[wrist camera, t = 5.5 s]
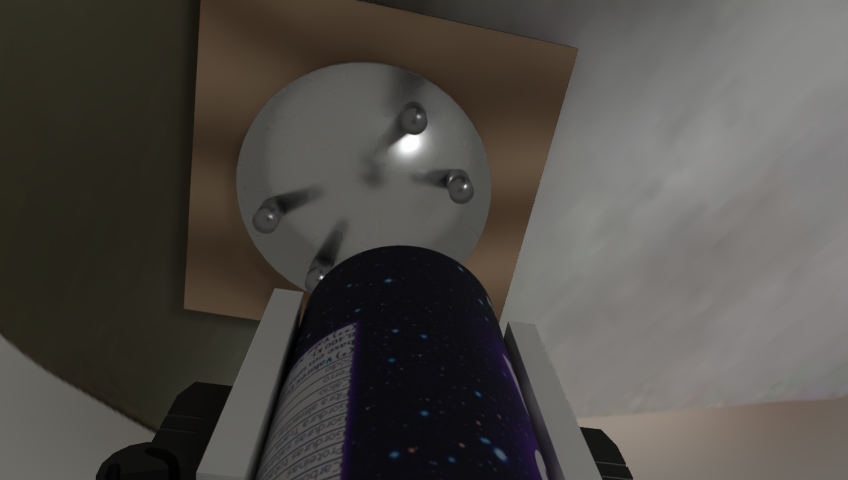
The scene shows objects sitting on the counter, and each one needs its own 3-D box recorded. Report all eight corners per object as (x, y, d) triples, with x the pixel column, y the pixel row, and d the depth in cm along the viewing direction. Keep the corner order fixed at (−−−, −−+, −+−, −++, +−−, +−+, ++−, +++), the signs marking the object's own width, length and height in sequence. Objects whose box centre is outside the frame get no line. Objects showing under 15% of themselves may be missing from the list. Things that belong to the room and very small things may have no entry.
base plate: (212, -32, 28) (202, -34, 26) (570, 46, 30) (578, 48, 28) (192, 296, 34) (183, 308, 33) (486, 342, 36) (489, 355, 35)
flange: (252, 35, 28) (236, 39, 25) (516, 89, 29) (528, 99, 26) (231, 277, 32) (216, 303, 30) (458, 313, 34) (463, 341, 31)
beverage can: (365, 421, 19) (324, 993, 8) (269, 286, 17) (40, 799, 6) (521, 349, 18) (712, 871, 7) (439, 199, 16) (534, 604, 5)
